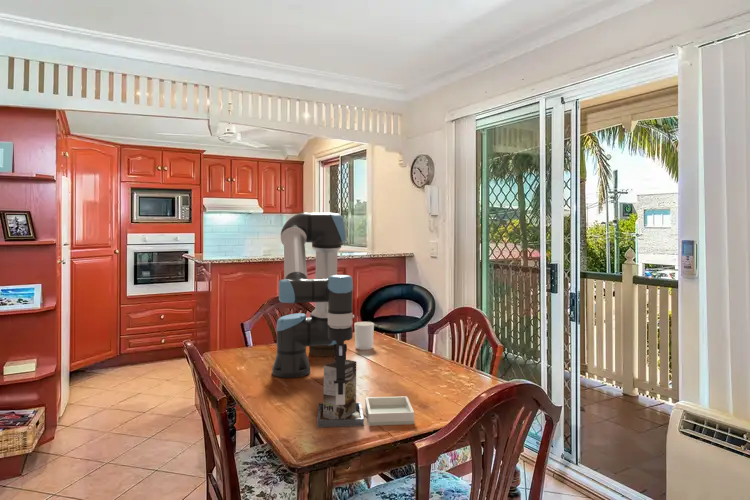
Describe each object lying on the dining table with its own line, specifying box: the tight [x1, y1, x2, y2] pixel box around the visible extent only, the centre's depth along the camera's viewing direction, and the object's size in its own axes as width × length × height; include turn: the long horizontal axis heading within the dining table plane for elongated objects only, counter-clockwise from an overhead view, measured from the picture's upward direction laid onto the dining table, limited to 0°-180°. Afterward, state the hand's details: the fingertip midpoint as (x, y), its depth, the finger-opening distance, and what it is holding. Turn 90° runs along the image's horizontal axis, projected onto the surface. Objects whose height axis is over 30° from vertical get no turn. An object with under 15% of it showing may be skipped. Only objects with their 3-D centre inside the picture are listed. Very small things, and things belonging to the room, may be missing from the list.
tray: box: [364, 395, 415, 427], centre depth 143 cm, size 14×14×4 cm
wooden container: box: [308, 313, 335, 358], centre depth 217 cm, size 15×15×22 cm
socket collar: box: [316, 401, 365, 428], centre depth 141 cm, size 14×14×2 cm
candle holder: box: [353, 321, 375, 351], centre depth 227 cm, size 10×10×12 cm
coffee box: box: [322, 359, 357, 419], centre depth 141 cm, size 9×6×16 cm
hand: (340, 397), depth 141 cm, fingers closed on coffee box, 10 cm apart
